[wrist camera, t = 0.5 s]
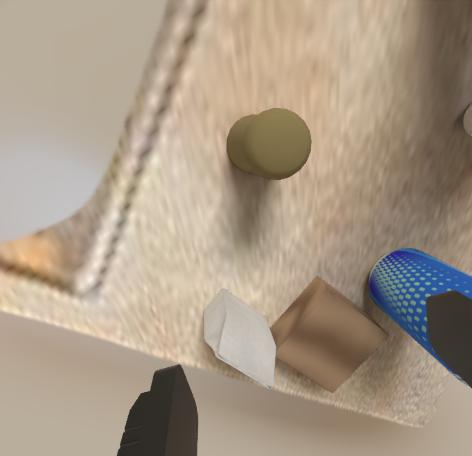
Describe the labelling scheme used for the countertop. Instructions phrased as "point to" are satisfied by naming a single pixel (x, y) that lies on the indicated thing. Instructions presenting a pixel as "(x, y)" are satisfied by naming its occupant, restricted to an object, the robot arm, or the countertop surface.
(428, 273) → the beer can
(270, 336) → the white tall box
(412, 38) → the countertop surface
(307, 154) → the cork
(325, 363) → the walnut base
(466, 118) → the donut
